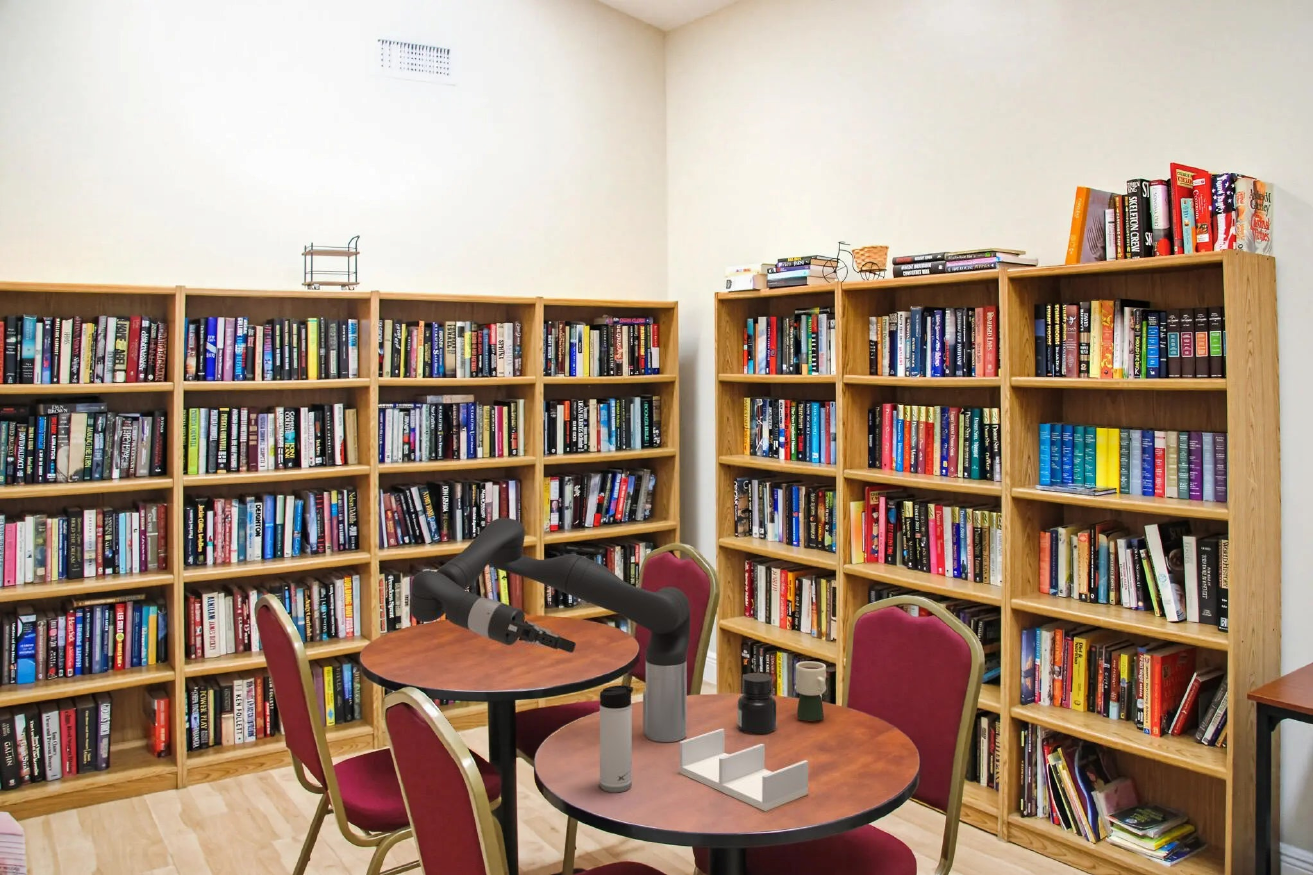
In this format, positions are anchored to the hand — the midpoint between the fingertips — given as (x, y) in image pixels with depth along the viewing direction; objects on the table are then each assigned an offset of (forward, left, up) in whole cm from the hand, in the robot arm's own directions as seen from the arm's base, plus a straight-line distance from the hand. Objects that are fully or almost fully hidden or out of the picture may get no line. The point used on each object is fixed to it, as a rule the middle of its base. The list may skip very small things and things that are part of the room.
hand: (566, 646), depth 200 cm
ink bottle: (+2, +52, -28) cm, 59 cm away
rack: (+22, +27, -28) cm, 45 cm away
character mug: (+6, +66, -28) cm, 72 cm away
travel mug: (+7, +7, -28) cm, 30 cm away
